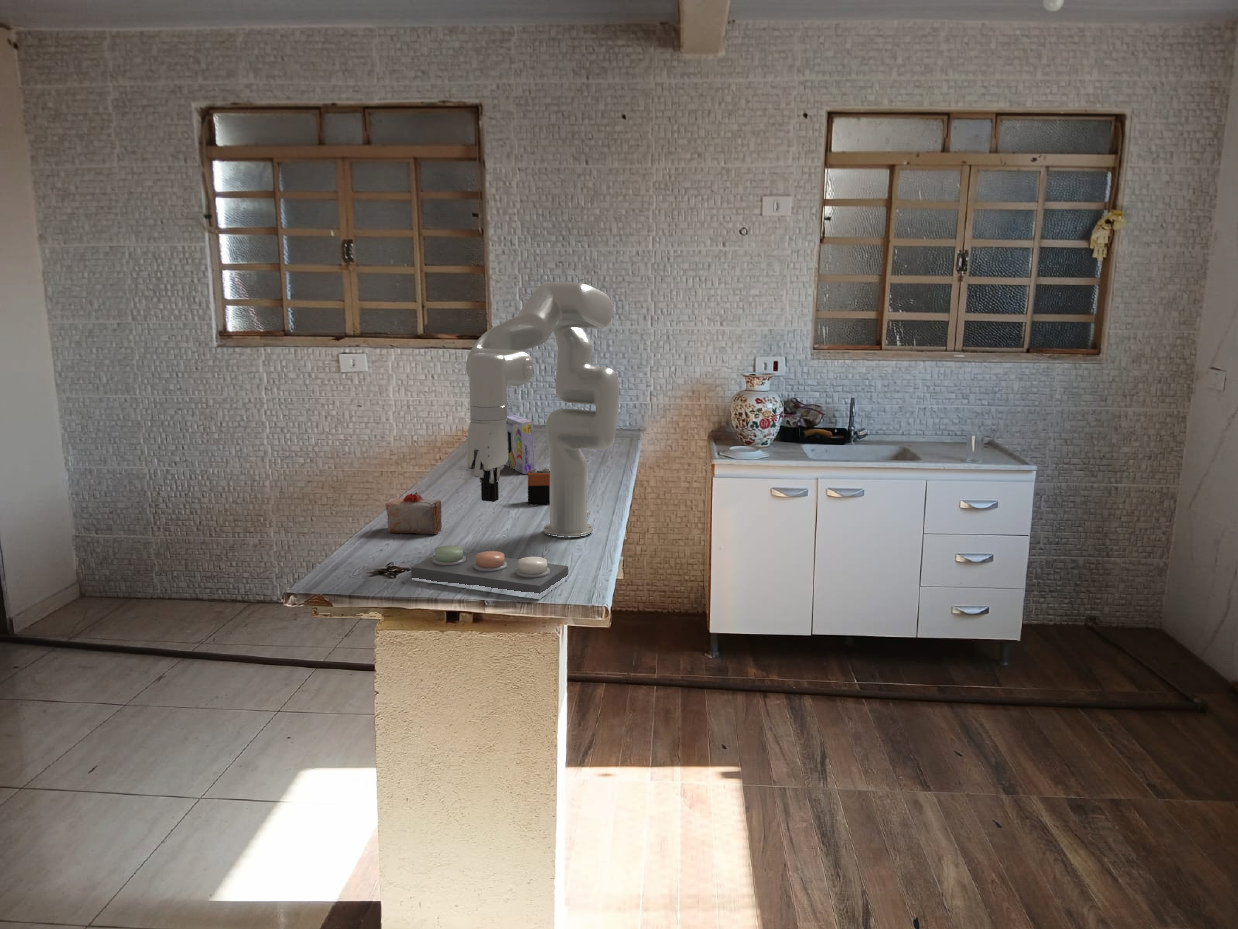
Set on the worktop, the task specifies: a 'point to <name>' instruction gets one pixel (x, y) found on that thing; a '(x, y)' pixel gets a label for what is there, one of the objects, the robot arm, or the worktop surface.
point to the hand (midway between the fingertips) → (490, 500)
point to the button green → (449, 553)
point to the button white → (532, 565)
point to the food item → (414, 515)
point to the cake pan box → (520, 444)
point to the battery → (539, 486)
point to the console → (488, 574)
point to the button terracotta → (489, 559)
